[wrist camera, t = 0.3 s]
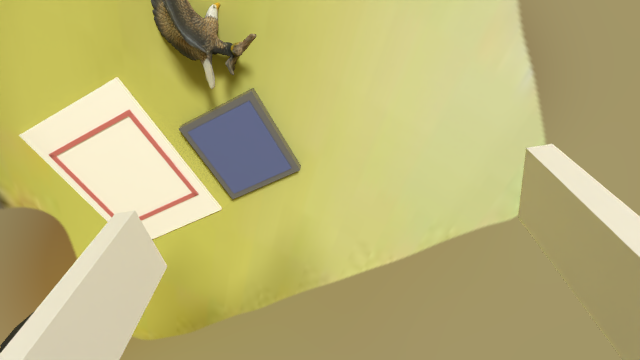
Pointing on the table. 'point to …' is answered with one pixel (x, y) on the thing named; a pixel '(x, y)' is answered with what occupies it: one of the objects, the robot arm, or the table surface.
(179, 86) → the table surface
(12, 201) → the table surface
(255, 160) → the ink pad
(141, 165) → the print sheet
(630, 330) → the robot arm
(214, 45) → the eagle figurine
